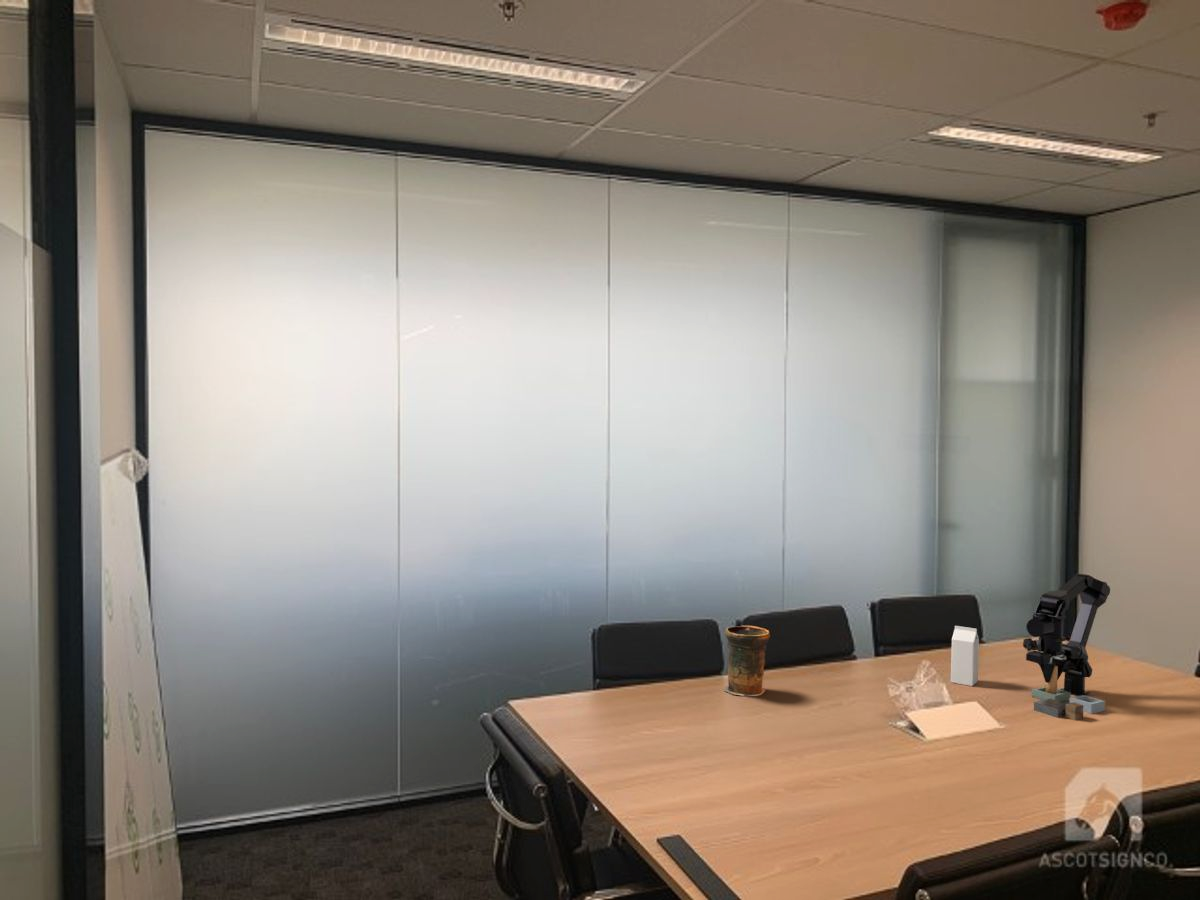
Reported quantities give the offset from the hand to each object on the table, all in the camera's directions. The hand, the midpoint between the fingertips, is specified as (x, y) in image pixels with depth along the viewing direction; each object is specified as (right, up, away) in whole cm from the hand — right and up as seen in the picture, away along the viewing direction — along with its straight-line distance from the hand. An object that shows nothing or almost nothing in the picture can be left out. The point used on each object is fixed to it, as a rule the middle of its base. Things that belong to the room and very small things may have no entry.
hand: (1051, 681), depth 280 cm
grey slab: (-7, -6, -14) cm, 17 cm away
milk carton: (-21, -5, +17) cm, 28 cm away
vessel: (-98, -4, +2) cm, 98 cm away
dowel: (0, -5, 0) cm, 5 cm away
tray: (0, -6, 0) cm, 6 cm away
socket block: (+6, -6, -10) cm, 13 cm away
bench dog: (-3, -6, -19) cm, 20 cm away
